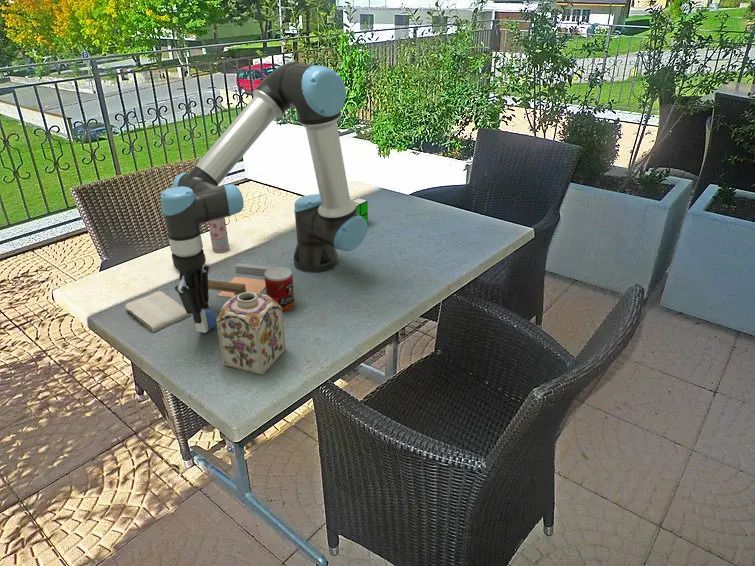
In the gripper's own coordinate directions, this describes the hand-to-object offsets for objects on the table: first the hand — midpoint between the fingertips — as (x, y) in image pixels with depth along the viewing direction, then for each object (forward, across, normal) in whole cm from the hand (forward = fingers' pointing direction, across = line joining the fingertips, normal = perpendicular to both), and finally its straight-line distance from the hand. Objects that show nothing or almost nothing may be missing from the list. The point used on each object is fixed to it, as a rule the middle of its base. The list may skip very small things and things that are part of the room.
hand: (202, 330), depth 144 cm
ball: (-1, -4, 0) cm, 4 cm away
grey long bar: (+2, -36, 0) cm, 36 cm away
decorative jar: (+2, +6, +18) cm, 19 cm away
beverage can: (+2, -50, -20) cm, 54 cm away
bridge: (+2, -12, 0) cm, 12 cm away
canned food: (+2, -19, +15) cm, 24 cm away
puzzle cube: (+2, -81, +20) cm, 83 cm away
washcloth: (+2, -8, -19) cm, 20 cm away
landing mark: (+2, -26, 0) cm, 26 cm away
